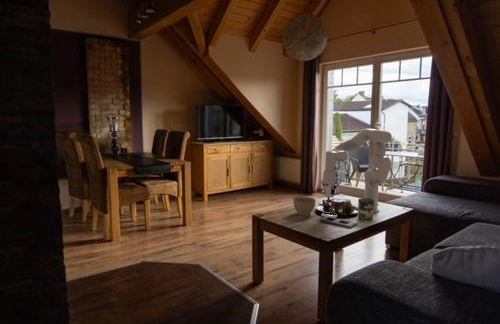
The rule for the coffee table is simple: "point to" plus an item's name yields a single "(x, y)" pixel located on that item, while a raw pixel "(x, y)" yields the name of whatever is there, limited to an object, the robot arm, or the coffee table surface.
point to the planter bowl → (304, 205)
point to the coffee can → (365, 210)
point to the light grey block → (328, 191)
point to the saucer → (328, 215)
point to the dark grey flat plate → (338, 222)
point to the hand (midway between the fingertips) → (329, 193)
